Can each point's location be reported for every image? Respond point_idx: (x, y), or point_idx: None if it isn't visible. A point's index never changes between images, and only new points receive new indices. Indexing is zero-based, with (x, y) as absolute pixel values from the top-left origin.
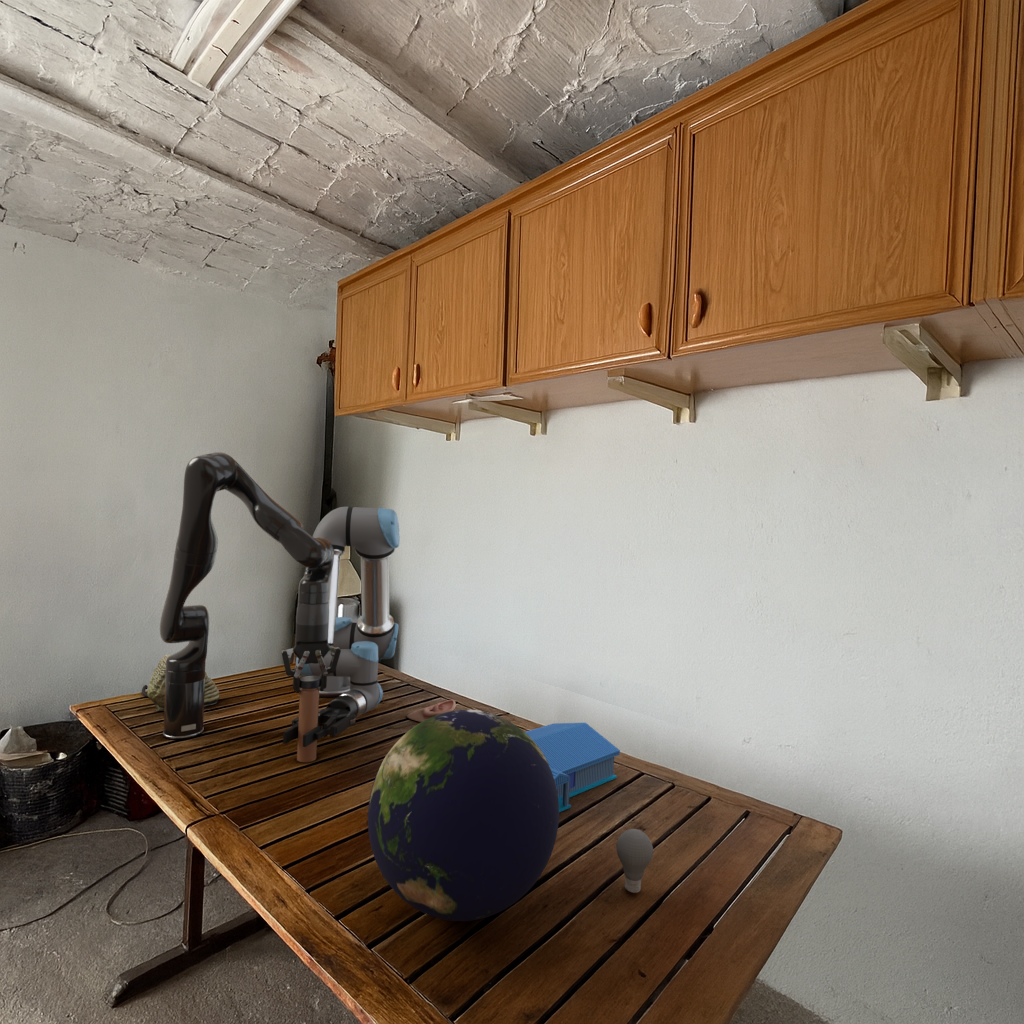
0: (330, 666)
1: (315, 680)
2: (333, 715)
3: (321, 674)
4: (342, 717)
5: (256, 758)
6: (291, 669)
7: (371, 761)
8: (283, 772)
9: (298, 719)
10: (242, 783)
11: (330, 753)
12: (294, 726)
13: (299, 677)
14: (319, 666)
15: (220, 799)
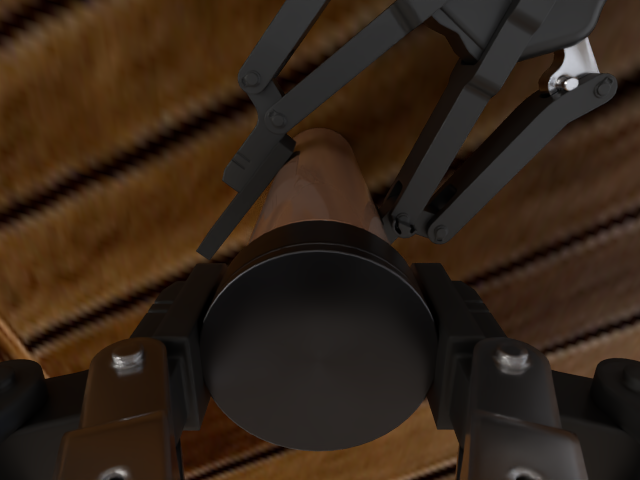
0: (636, 438)
1: (364, 437)
2: (485, 85)
3: (455, 398)
4: (539, 55)
5: (128, 98)
6: (36, 433)
7: (534, 254)
8: (234, 253)
9: (276, 68)
10: (113, 293)
11: (415, 137)
12: (249, 191)
13: (192, 409)
14: (465, 443)
15: (71, 367)
